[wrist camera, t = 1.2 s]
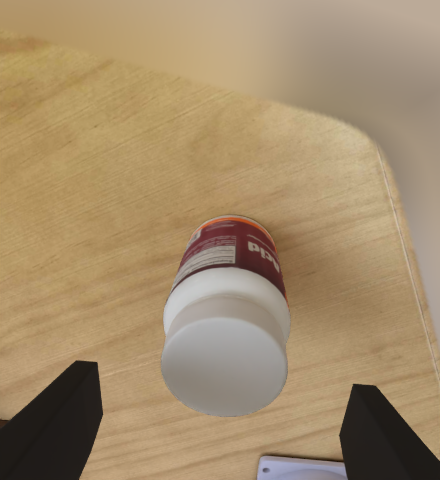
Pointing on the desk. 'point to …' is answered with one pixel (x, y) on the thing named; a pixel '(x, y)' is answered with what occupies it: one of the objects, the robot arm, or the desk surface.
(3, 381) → the desk surface
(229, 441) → the desk surface
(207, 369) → the pill bottle
